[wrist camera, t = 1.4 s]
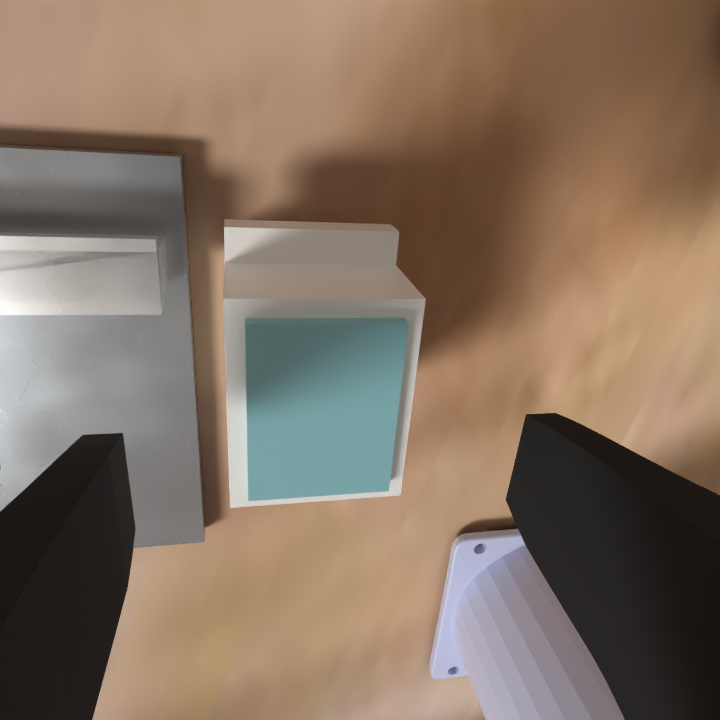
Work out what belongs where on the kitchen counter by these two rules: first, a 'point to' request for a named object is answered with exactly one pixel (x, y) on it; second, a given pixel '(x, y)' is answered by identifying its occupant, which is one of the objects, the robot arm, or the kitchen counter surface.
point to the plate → (104, 338)
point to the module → (317, 360)
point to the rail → (81, 274)
